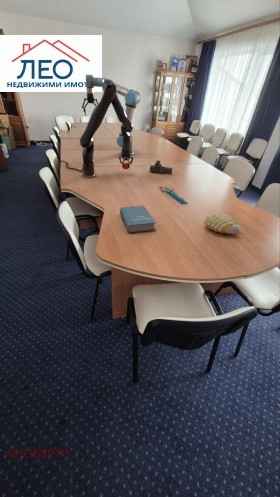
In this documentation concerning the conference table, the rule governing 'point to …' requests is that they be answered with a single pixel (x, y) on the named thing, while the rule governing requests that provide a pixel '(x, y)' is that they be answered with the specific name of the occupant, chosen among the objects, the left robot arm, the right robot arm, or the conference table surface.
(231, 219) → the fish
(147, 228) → the book
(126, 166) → the block
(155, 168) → the laser sight
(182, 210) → the conference table surface
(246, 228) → the conference table surface
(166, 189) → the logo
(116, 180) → the conference table surface
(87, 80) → the right robot arm
